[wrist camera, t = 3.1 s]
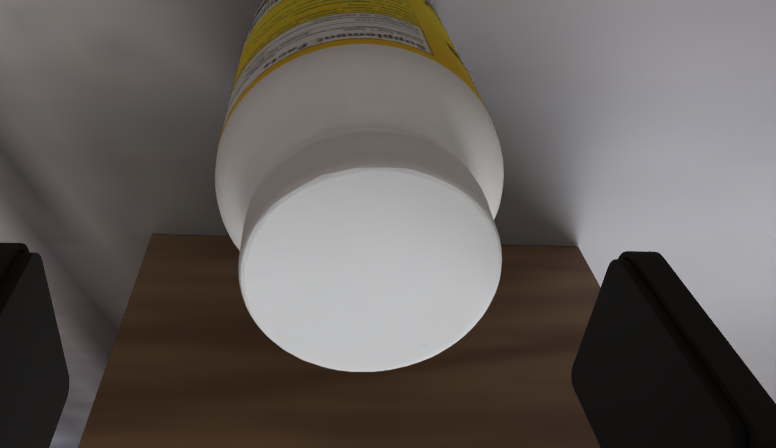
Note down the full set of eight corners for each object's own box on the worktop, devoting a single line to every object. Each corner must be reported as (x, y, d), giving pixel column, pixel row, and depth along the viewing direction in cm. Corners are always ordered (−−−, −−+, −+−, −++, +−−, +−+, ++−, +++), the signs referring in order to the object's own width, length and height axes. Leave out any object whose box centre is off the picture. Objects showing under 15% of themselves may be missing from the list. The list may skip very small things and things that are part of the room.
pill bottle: (434, 147, 23) (514, 398, 14) (251, 144, 22) (208, 408, 13) (456, -43, 19) (582, 125, 10) (239, -53, 19) (169, 118, 9)
